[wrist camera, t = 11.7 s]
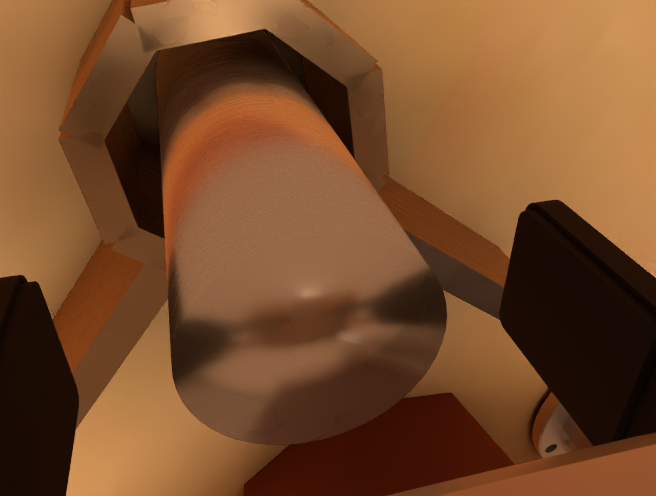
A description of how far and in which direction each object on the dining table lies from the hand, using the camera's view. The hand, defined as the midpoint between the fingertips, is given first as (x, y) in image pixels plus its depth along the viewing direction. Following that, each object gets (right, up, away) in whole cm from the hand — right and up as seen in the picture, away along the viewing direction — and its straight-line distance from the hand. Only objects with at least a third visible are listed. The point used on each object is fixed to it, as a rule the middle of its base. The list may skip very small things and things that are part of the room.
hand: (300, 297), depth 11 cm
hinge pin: (-3, +7, +9) cm, 12 cm away
